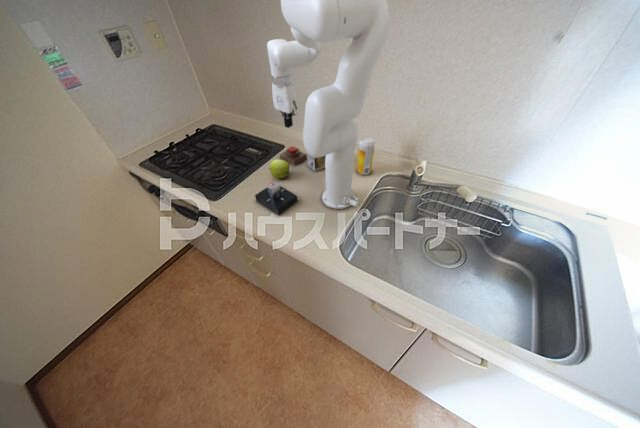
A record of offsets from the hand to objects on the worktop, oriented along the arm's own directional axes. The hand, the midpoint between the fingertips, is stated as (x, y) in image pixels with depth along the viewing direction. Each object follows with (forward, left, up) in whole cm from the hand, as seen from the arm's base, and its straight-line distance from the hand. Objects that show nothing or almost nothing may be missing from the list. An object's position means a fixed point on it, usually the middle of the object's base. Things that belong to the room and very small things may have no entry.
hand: (288, 126), depth 103 cm
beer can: (-33, -11, -16) cm, 38 cm away
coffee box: (-14, -3, -16) cm, 22 cm away
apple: (-6, +14, -16) cm, 22 cm away
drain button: (0, 0, -13) cm, 13 cm away
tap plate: (-17, +26, -16) cm, 35 cm away
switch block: (0, 0, -16) cm, 16 cm away
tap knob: (-17, +26, -13) cm, 34 cm away
